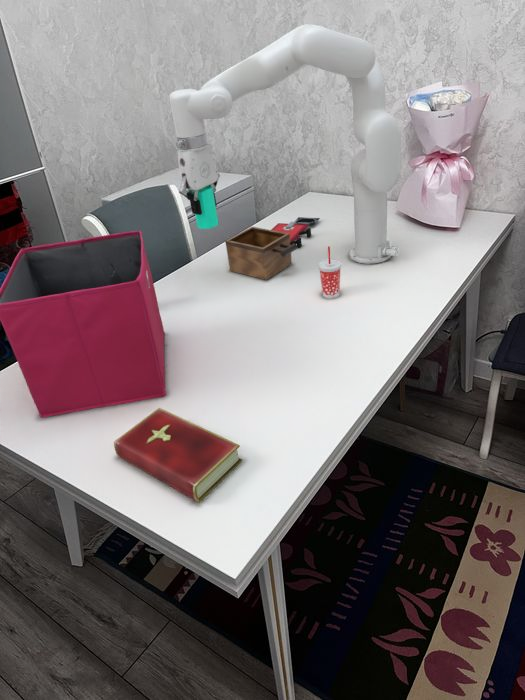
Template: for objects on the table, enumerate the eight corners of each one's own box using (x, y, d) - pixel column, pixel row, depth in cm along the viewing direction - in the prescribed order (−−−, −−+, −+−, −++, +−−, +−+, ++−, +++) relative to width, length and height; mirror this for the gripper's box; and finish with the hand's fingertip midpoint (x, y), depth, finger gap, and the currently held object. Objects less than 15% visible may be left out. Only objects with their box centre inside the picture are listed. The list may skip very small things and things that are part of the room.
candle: (197, 222, 158) (189, 180, 152) (218, 219, 158) (211, 177, 152) (197, 230, 153) (188, 187, 147) (218, 227, 153) (211, 183, 147)
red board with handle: (325, 220, 198) (287, 219, 205) (324, 213, 197) (286, 211, 203) (292, 255, 177) (250, 252, 183) (291, 247, 175) (249, 244, 182)
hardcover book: (197, 504, 94) (193, 486, 92) (117, 458, 106) (112, 441, 103) (242, 460, 102) (239, 443, 99) (163, 422, 113) (158, 406, 111)
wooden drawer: (305, 266, 168) (303, 236, 163) (280, 283, 160) (277, 252, 155) (255, 255, 179) (251, 226, 174) (229, 270, 172) (225, 240, 166)
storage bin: (171, 397, 120) (142, 278, 105) (37, 422, 118) (-13, 304, 103) (168, 332, 144) (144, 228, 128) (56, 352, 141) (18, 248, 126)
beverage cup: (321, 289, 155) (318, 242, 148) (343, 289, 154) (341, 241, 146) (318, 299, 150) (315, 251, 143) (341, 299, 149) (339, 251, 141)
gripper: (179, 151, 136) (192, 222, 146) (224, 134, 147) (234, 201, 156) (158, 150, 140) (173, 219, 150) (204, 133, 151) (215, 198, 161)
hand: (204, 209), depth 153 cm, fingers closed on candle, 5 cm apart
